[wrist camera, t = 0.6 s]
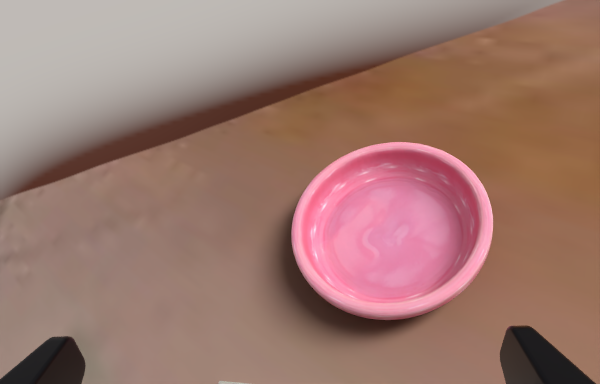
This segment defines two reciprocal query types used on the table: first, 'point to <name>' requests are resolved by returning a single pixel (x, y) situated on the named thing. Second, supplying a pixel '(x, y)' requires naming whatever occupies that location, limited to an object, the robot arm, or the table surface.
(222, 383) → the collar fixture
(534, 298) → the table surface
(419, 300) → the saucer
